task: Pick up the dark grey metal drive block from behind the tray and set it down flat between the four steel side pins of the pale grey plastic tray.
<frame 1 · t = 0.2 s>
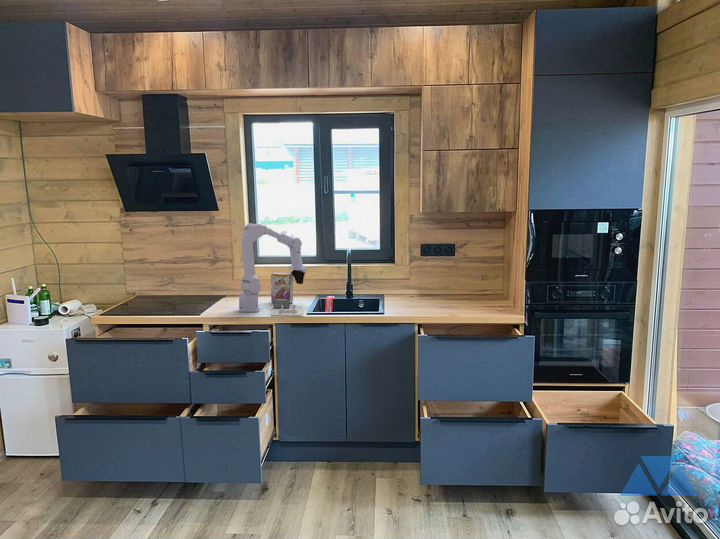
hand: (299, 283, 295), 11 cm above the countertop, tool pointing down, fingers closed
candy bar box: (282, 303, 297), on the countertop, touching gripper
drive: (281, 309, 282), on the countertop
tray: (288, 313, 272), on the countertop
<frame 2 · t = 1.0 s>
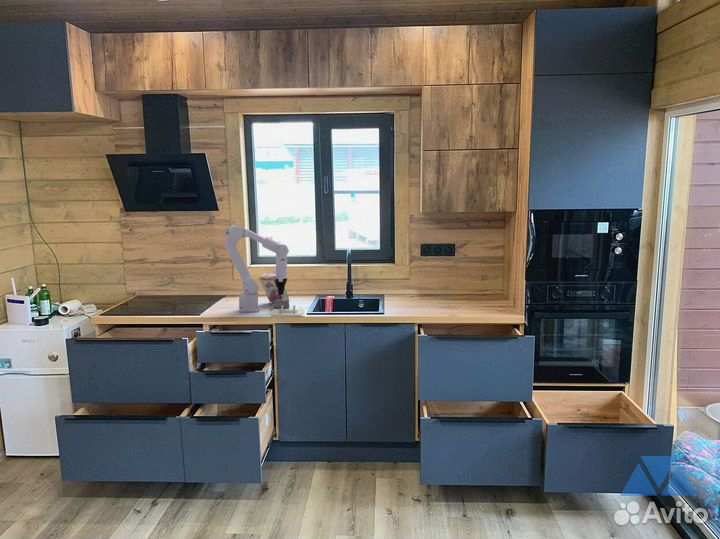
hand: (281, 293, 281), 8 cm above the countertop, tool pointing down, fingers open, 7 cm apart
candy bar box: (279, 301, 295), point 1 cm above the countertop, touching gripper
everything else where it was.
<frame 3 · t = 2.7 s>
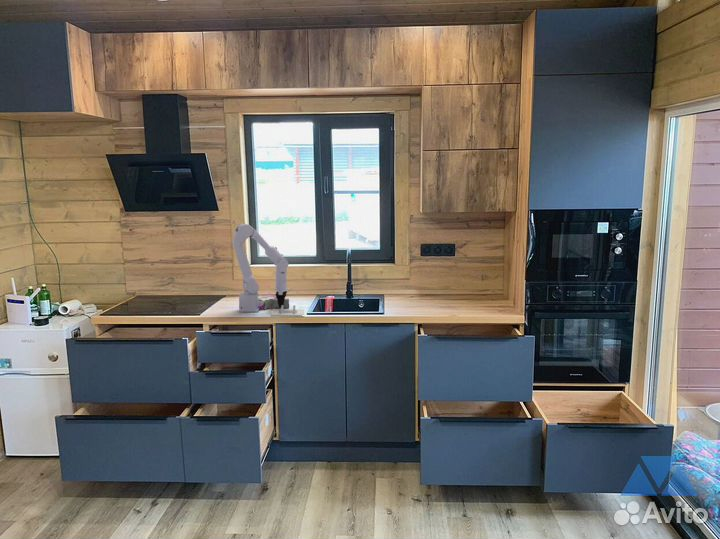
hand: (281, 306, 282), 1 cm above the countertop, tool pointing down, fingers closed on drive, 4 cm apart
candy bar box: (276, 299, 295), point 2 cm above the countertop
drive: (281, 308, 282), on the countertop, touching gripper
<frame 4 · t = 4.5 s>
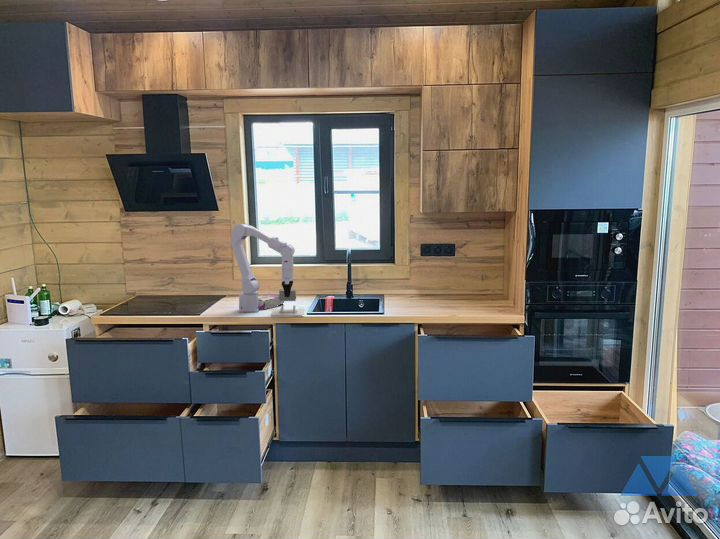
hand: (287, 296, 272), 8 cm above the countertop, tool pointing down, fingers closed on drive, 4 cm apart
drive: (287, 300, 272), point 6 cm above the countertop, touching gripper
everything else where it was.
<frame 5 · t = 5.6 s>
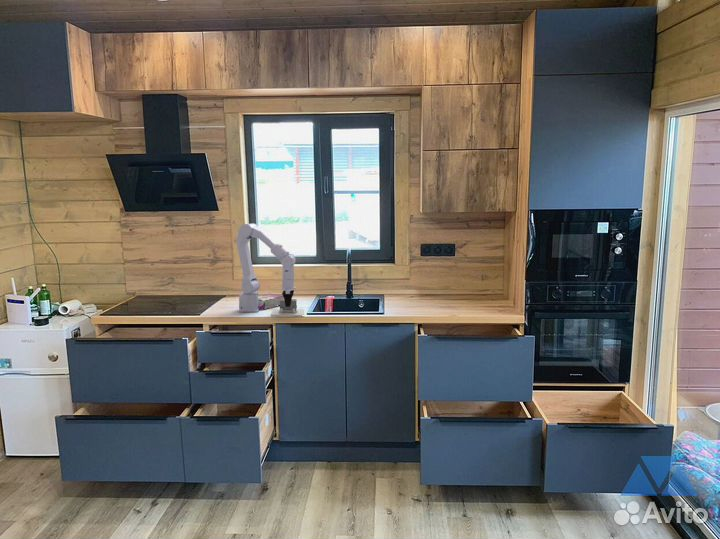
hand: (288, 305, 271), 4 cm above the countertop, tool pointing down, fingers closed on drive, 4 cm apart
drive: (288, 309, 271), point 2 cm above the countertop, touching gripper
everything else where it was.
when the fingers open (4 cm above the countertop, at t = 6.3 s): drive stays where it is, resting on tray.
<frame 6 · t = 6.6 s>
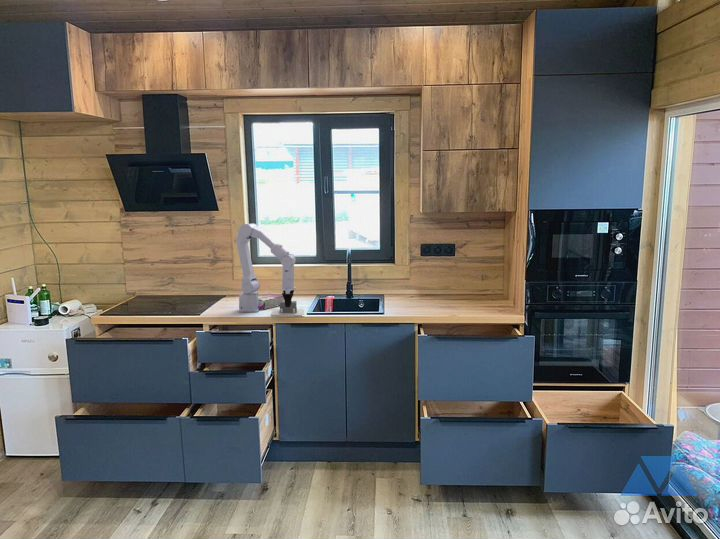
hand: (288, 305, 271), 4 cm above the countertop, tool pointing down, fingers open, 6 cm apart
drive: (288, 311, 272), point 1 cm above the countertop, touching tray
everything else where it was.
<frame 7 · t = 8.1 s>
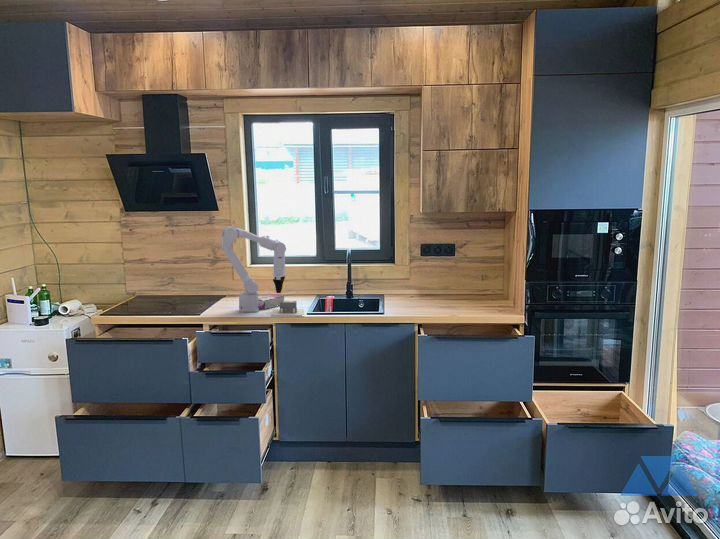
hand: (279, 291, 279), 9 cm above the countertop, tool pointing down, fingers open, 7 cm apart
nothing on the countertop moved.
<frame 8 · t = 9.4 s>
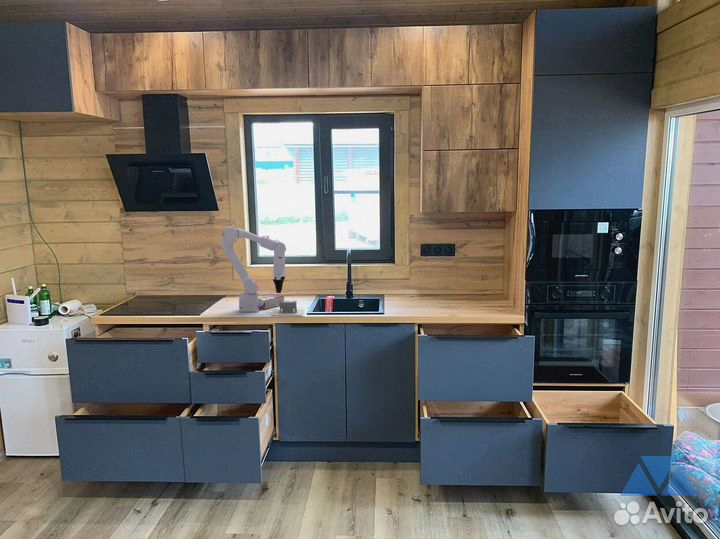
hand: (279, 291, 279), 9 cm above the countertop, tool pointing down, fingers open, 7 cm apart
nothing on the countertop moved.
at the end: drive 0.1 cm off-centre on the tray, point 0.9 cm above the tray's base; drive tilted 0°; the gripper is holding nothing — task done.
